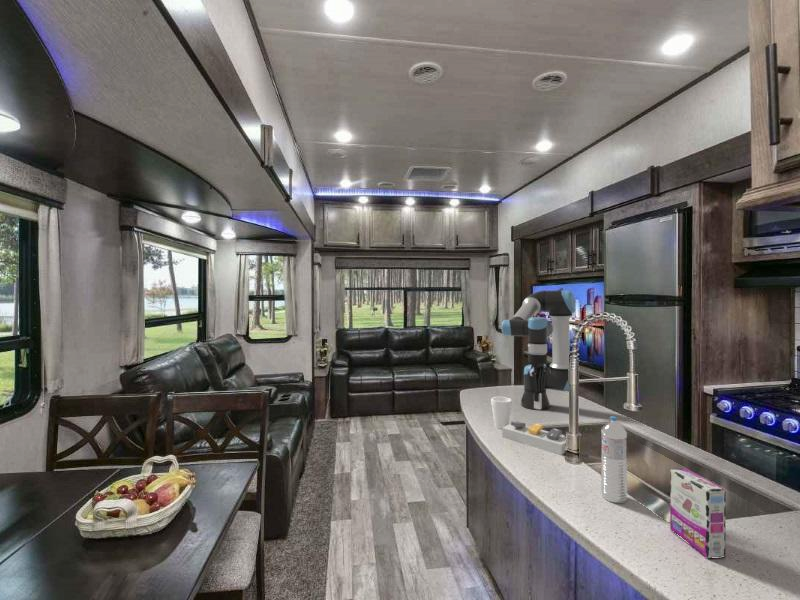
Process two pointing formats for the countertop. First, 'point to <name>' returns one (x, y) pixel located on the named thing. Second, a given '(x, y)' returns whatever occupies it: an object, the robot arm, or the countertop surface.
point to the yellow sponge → (535, 428)
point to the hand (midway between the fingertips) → (537, 408)
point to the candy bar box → (698, 512)
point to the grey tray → (536, 439)
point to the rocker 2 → (554, 433)
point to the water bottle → (614, 462)
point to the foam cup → (501, 411)
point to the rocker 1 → (518, 424)
